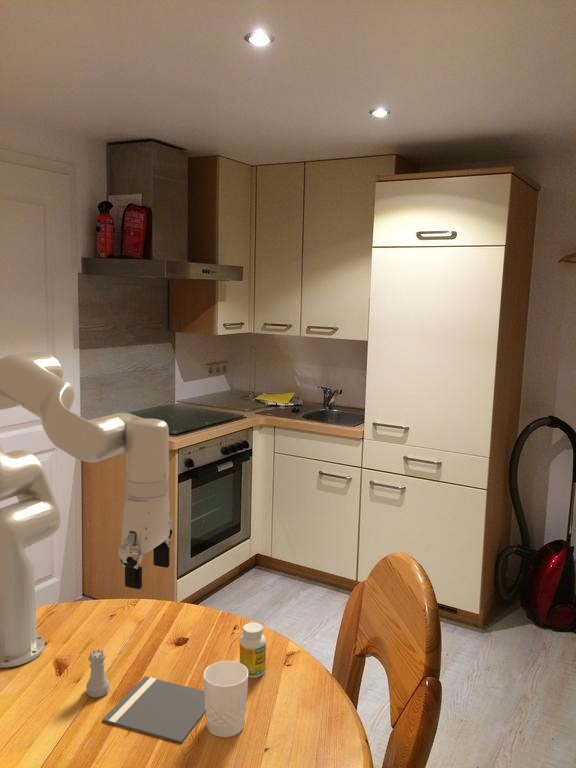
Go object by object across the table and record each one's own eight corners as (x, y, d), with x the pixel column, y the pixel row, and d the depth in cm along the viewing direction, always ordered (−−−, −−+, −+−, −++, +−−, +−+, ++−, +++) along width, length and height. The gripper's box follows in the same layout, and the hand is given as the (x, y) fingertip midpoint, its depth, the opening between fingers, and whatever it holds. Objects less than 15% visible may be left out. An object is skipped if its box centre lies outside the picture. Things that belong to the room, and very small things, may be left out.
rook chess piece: (103, 700, 121) (102, 660, 119) (81, 697, 121) (80, 657, 120) (114, 686, 125) (113, 648, 124) (93, 683, 126) (92, 645, 125)
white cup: (207, 743, 109) (207, 689, 108) (200, 714, 117) (200, 663, 116) (252, 735, 112) (252, 682, 110) (242, 707, 119) (243, 657, 118)
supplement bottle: (248, 661, 134) (248, 618, 133) (270, 668, 132) (271, 624, 131) (234, 674, 130) (234, 629, 128) (256, 682, 127) (257, 636, 126)
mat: (102, 721, 115) (102, 718, 115) (144, 678, 128) (144, 675, 128) (181, 743, 109) (181, 740, 109) (217, 696, 122) (217, 693, 122)
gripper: (154, 472, 126) (154, 555, 128) (101, 498, 110) (103, 592, 112) (188, 477, 123) (188, 561, 126) (140, 504, 107) (140, 600, 110)
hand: (148, 576), depth 119 cm, fingers open, 9 cm apart
